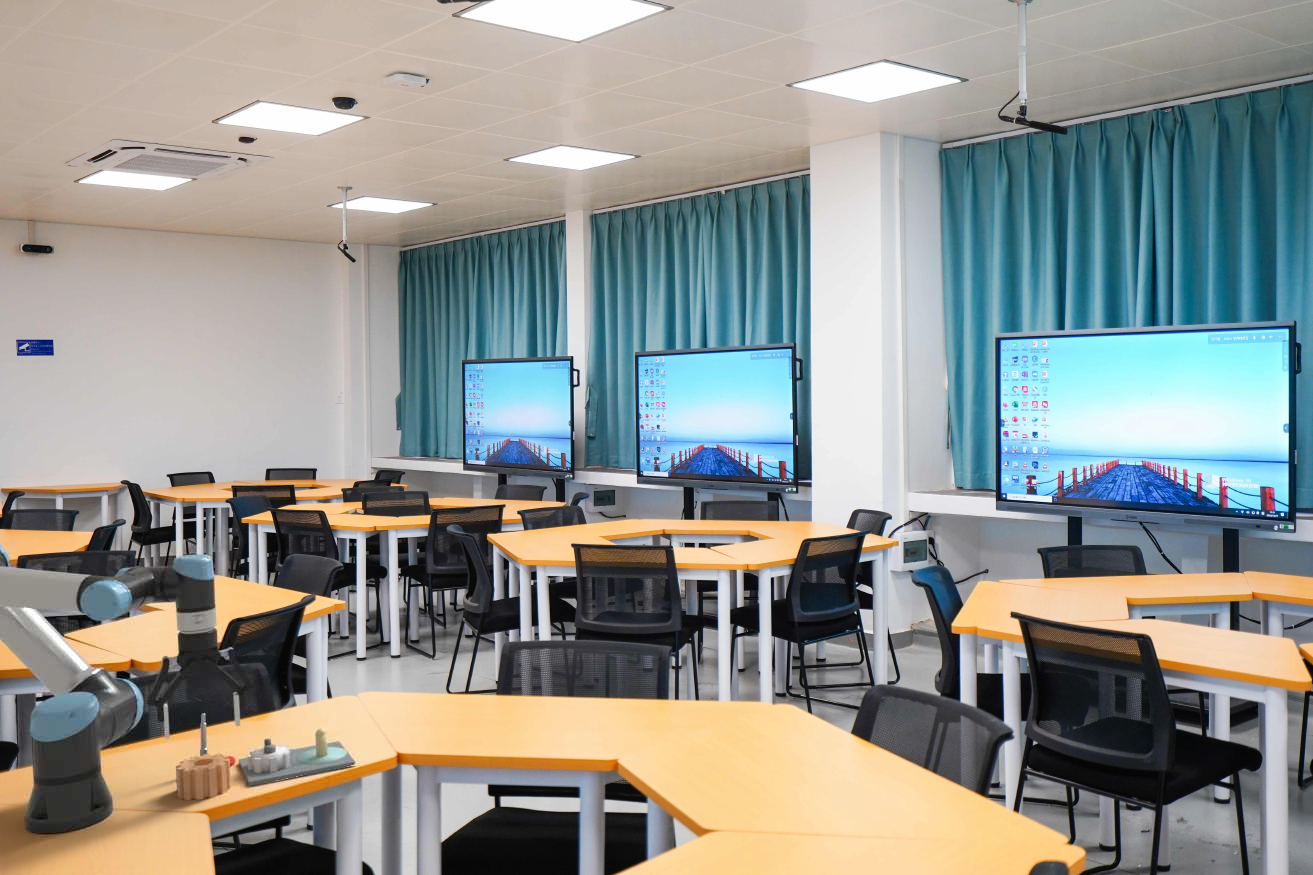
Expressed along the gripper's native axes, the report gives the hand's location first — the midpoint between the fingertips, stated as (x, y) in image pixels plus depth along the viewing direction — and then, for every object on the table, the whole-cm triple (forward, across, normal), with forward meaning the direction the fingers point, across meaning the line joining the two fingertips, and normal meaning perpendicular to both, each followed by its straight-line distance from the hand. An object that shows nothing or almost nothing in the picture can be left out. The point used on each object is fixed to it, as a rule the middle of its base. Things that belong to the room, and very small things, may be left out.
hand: (202, 730), depth 218 cm
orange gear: (+13, 0, 0) cm, 13 cm away
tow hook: (+13, +3, +15) cm, 20 cm away
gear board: (+13, +19, +5) cm, 24 cm away
